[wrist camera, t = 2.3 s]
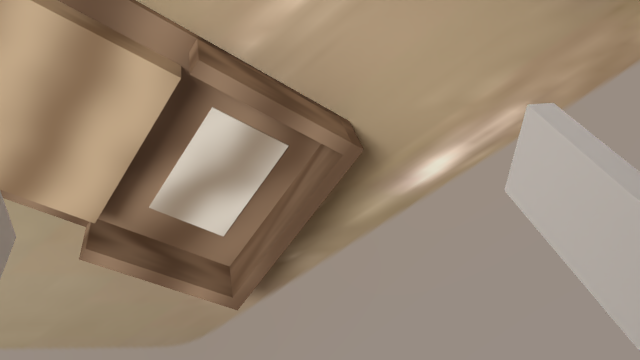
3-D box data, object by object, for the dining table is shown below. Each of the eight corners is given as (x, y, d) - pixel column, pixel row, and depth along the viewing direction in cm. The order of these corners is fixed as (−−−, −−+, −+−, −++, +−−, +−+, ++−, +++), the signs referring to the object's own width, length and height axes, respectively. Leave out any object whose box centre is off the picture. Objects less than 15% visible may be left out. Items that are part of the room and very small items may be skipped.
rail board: (-88, 159, 35) (-116, 196, 31) (5, -73, 29) (-17, -57, 26) (233, 273, 45) (237, 310, 42) (349, 121, 39) (364, 149, 36)
